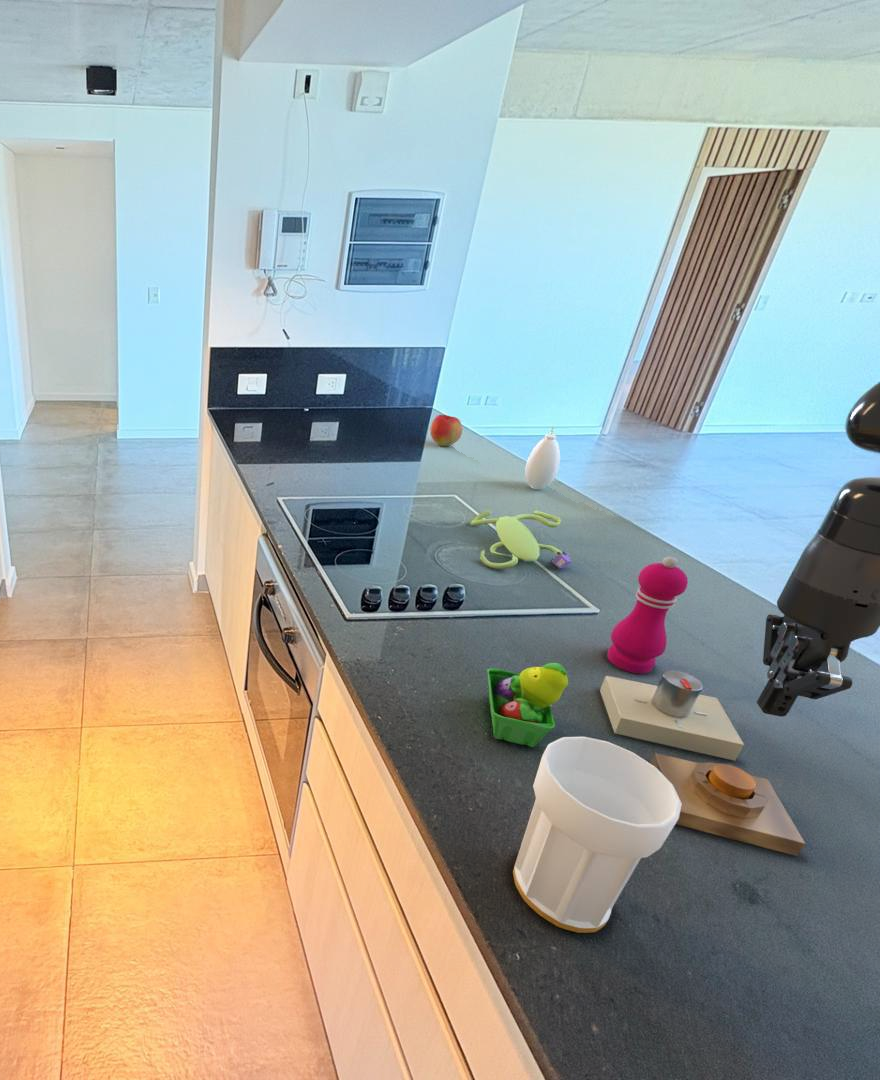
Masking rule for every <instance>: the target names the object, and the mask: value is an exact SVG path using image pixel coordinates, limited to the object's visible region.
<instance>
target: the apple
mask: <svg viewBox="0 0 880 1080" xmlns="http://www.w3.org/2000/svg"><path fill="white" fill-rule="evenodd" d="M429 431H430V433H429V434H430V436H431V438H432V440H433V442H434V443H435V444H436V445H437V446H438V447H439V446H440V447H449V446H452V445H454V444H456V443H457V442H459V440H460V438H461V437H462V435H463V424H462V421H461V420H460V419H459V418H458V417H456V416H451V415H447V414H439V415H436V416H435V418H433V420H432V422H431V425H430V430H429Z"/></svg>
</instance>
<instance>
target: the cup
mask: <svg viewBox="0 0 880 1080" xmlns="http://www.w3.org/2000/svg"><path fill="white" fill-rule="evenodd" d="M532 788H533V792H534V797H535V800H534V803H533V806H532V810H531V813H530V816H529V819H528V822H527V826H526V828H525V832H524V835H523V838H522V841H521V843H520V848H519V850H518V854H517V857H516V860H515V863H514V867H513V870H512V875H513V880H514V886H515V888H516V889H517V891H518V893H519V895H520V896H521V898H522V899H523V901H524V902H525V903H526V904H527V905H528V906H529V907H530V908H531V909H532V910H533V911H534V912H535V913H536V914H537V915H539V916H540V917H541V918H543V919H544V920H546V921H548V923H551V924H552V925H554V926H556V927H558V928H561V929H563V930H566V931H571V932H575V933H578V934H580V933H581V934H582V933H583V934H587V933H588V934H589V933H597V932H598V931H599V930H601V929H602V928H603V927H605V925H607V923H608V921H609V919H610V917H611V915H612V910H613V907H614V905H615V904H616V902H617V901H618V898H620V895H621V894H622V892H623V890H624V888H625V886H626V885H627V883H628V881H629V880H630V878H631V876H632V875H633V872H634V871H635V869H636V868H637V866H638V864H639V862H640V861H641V859H645V858H646V859H647V858H648V857H650V856H651V855H653V854H654V853H656V852H657V851H659V850H661V848H662V847H663V845H664V843H665V842H666V840H667V839H668V837H669V835H670V834H671V833H672V830H673V829H674V827H675V825H677V824H676V822H677V821H678V819H679V815H680V810H681V805H682V803H681V801H680V799H679V797H678V795H677V793H676V791H675V789H674V786H673V785H672V784H671V783H670V782H669V781H668V779H667V778H666V777H665V776H664V775H663V774H662V773H661V772H660V771H659V770H658V769H657V768H656V767H655V766H653V765H651V764H650V762H648V761H647V760H646V759H644V758H643V757H641V756H639V755H638V754H636V753H634V752H633V751H631V750H628V749H626V748H624V747H621V746H619V745H617V744H615V743H612V742H609V741H606V740H601V739H598V738H592V737H587V736H563V737H560V738H557V739H556V740H554V741H552V742H550V743H548V744H547V746H546V748H545V749H544V752H543V753H542V755H541V758H540V763H539V765H538V769H537V772H536V775H535V778H534V782H533V785H532Z"/></svg>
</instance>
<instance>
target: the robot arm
mask: <svg viewBox="0 0 880 1080" xmlns="http://www.w3.org/2000/svg"><path fill="white" fill-rule="evenodd" d="M845 418H846V419H845V424H844V429H845V435H846V437H847V439H848V440H849V442H850V443H851V444H852V445H853V446H855V447H857V448H858V449H861V450H864V451H867V452H870V453H873V454H879V455H880V381H878V382H877V383H875V384H874V385H872V386H871V387H870V388H869V389H868V390H866V391H865V392H864V393H863V394H862V395H861V396H860V397H859V398H858V399H857V400H856V401H855V402H854V404H853V405H852V407H851V408H850V410H849V411H848V413H847V416H846V417H845ZM776 606H777V608H778V610H779V611H780V612H781V614H783V615H779V614H778V615H777V614H771V613H769V614H767V615H766V619H765V628H764V629H765V630H764V641H763V653H762V654H763V655H762V663H763V665H764V666H768V667H769V668H768V670H767V673H766V676H767V678H768V681H767V683H766V685H765V686H764V688H763V689H762V692H761V694H760V695H759V697H758V699H757V701H756V704H757V705H758V708H760V711H761V712H762V713H763V714H766V715H770V716H775V717H786V716H787V715H788V713H789V712H790V710H791V709H792V707H793V705H794V703H795V702H796V701H797V698H798V697H802V698H803V697H804V698H808V699H811V700H819V699H822V698H825V697H828V696H831V695H834V694H837V693H840V692H844V691H846V690H850V689H851V688H852V686H853V679H852V678H851V677H850V676H845V675H842V673H841V663H842V662H844V661H845V660H846V659H847V657H848V655H849V650H850V646H851V644H852V642H854V641H857V640H859V639H864V638H868V637H870V636H873V635H874V634H876V632H877V631H878V630H879V629H880V477H877V476H875V477H874V476H873V477H872V476H871V477H870V476H869V477H867V476H865V477H857V478H852V479H850V480H849V481H846V482H845V483H844V484H843V485H842V486H841V488H840V489H839V490H838V491H837V493H836V495H835V497H834V499H833V501H832V503H831V504H830V506H829V508H828V510H827V512H826V514H825V515H824V518H823V520H822V521H821V524H820V525H819V527H818V529H817V531H816V533H815V534H814V535H813V537H812V538H811V539H810V541H809V542H807V544H806V546H805V547H804V549H803V550H802V553H801V554H800V557H799V558H798V560H797V562H796V564H795V566H794V568H793V570H792V572H791V573H790V574H789V578H788V579H787V581H786V582H785V585H784V587H783V589H782V591H781V593H780V594H779V596H778V599H777V600H776Z"/></svg>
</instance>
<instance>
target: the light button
mask: <svg viewBox="0 0 880 1080" xmlns="http://www.w3.org/2000/svg"><path fill="white" fill-rule="evenodd" d="M750 775H751V774H750V773H748V772H746V771H745V770H743V769H741V768H739V767H737V766H735V765H731V764H728V763H717V765H715V766H714V767H713V769H712V771H711V773H710V774H709V776H708V780H709V782H710V784H711V785H713V786H714V787H715V788H716V789H717V790H718V791H720V792H722V793H724V794H726V795H728V796H730V797H734V798H738V799H742V800H743V799H748V798H749V797H750V796H751V794H752V792H753V791H754V789H755V787H756V782H755V781H754V779H753V778H752V777H751V776H750Z"/></svg>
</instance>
